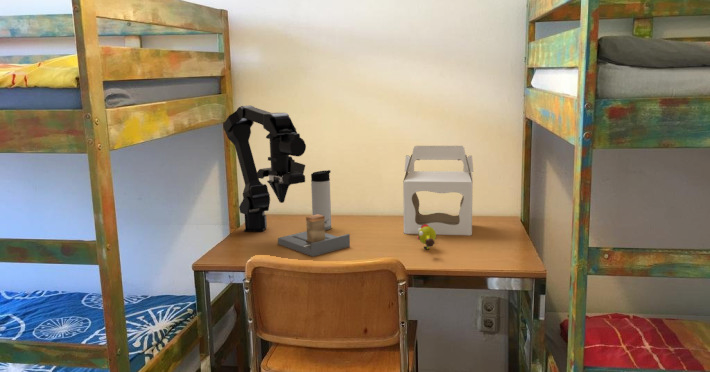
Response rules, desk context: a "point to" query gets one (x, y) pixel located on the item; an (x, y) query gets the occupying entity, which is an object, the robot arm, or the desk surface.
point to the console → (315, 248)
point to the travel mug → (321, 196)
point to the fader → (315, 228)
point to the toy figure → (426, 236)
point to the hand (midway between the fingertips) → (281, 202)
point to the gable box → (438, 191)
